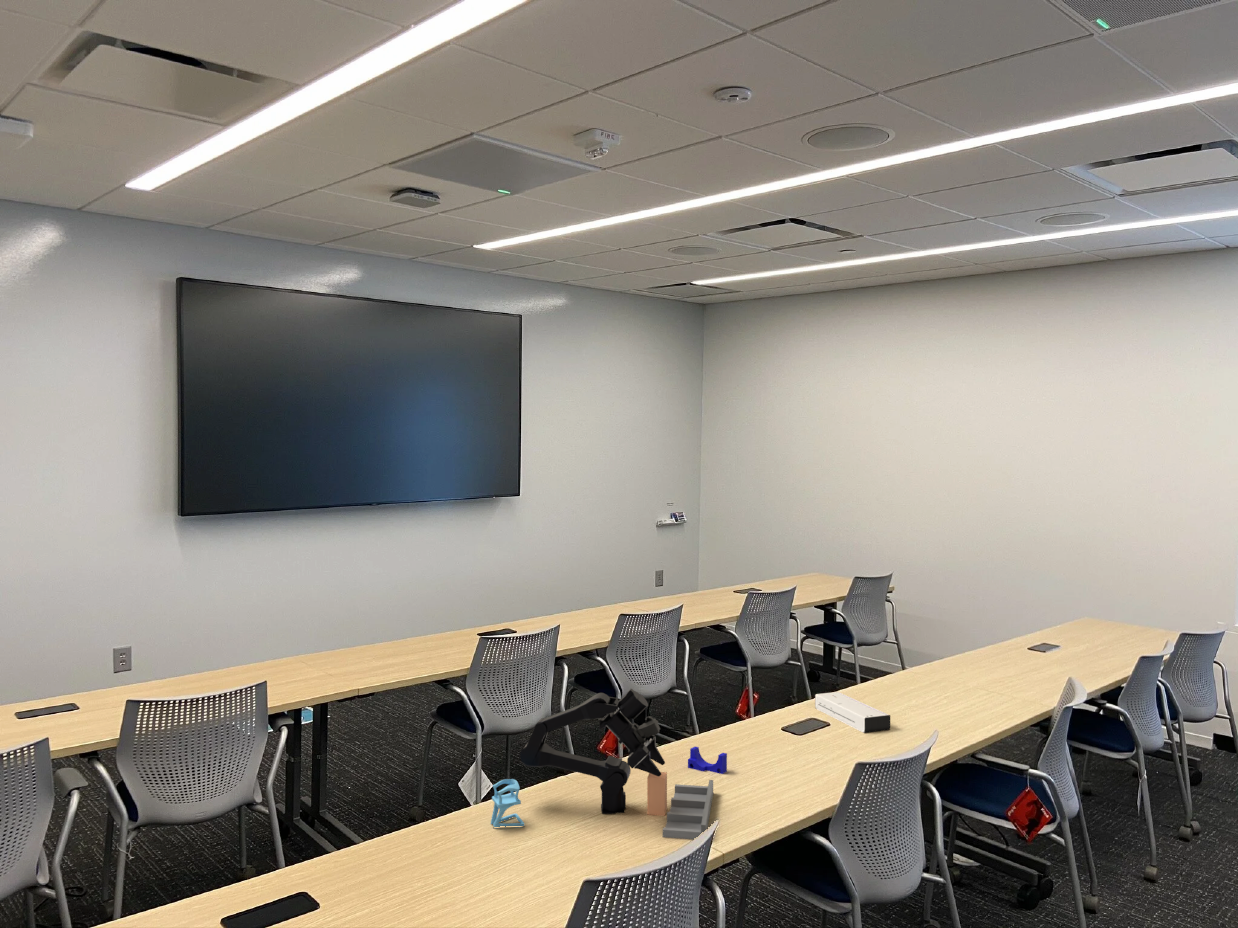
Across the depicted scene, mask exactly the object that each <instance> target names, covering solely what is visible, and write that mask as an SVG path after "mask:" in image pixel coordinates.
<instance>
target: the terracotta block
mask: <svg viewBox="0 0 1238 928" xmlns="http://www.w3.org/2000/svg"><path fill="white" fill-rule="evenodd" d="M660 772H661V775H660V776H659V777H658V776H656V775H653V774H651V773H648V776H647V786H646V789H647V792H646V793H647V794H646V796H647V800H646V801H647V802H646V803H647V804H646V806H647V809H646V811H647V812H646V814H647V816H659V817H661V816H663V817H664V816H666V814H667V810H668V800H667V799H668V773H667V771H664V772H663V771H660Z"/></svg>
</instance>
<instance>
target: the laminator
mask: <svg viewBox="0 0 1238 928" xmlns="http://www.w3.org/2000/svg"><path fill="white" fill-rule="evenodd" d="M814 700H815V701H814V705H815V706H814V707H815V709H816V710H817V711H819V712H821V713H824V714H825V715H827V716H828V717H831V718H833V719H836V720H837V721H839V722H842V723H843V724H845V725H847V726H849V727H851V728H853V729H855V730H857V731H859V732H862V733H863V734H867V733H874V732H882V731H884V732H885V731H889V730H891V714H888V713H886V712H884V711H882V710H880V709H877V708H875V707H874V706H873V707H872V706H870V705H868V704H866V703H864V702H862V701H860V700H857V699H855V698H853V697H851V696H848V695H846V694H845V693H842V692H840V691H834V692H823V693H816V694H814Z"/></svg>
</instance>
